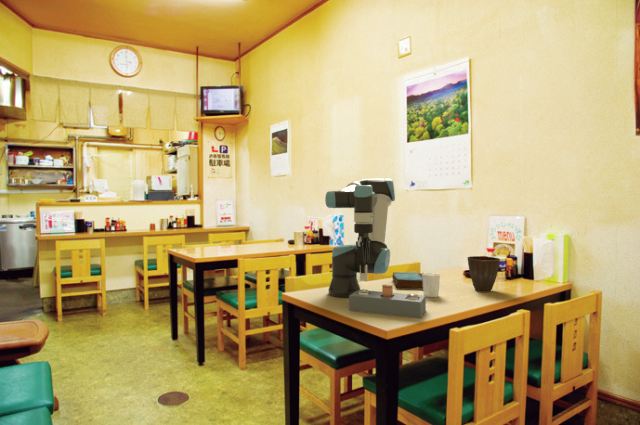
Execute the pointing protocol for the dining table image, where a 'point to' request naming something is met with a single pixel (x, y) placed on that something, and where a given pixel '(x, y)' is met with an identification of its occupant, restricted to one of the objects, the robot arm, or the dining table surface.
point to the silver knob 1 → (363, 292)
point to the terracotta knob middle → (387, 291)
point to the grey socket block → (388, 304)
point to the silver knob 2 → (412, 296)
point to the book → (408, 280)
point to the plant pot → (483, 272)
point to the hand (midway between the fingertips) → (363, 280)
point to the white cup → (431, 284)
